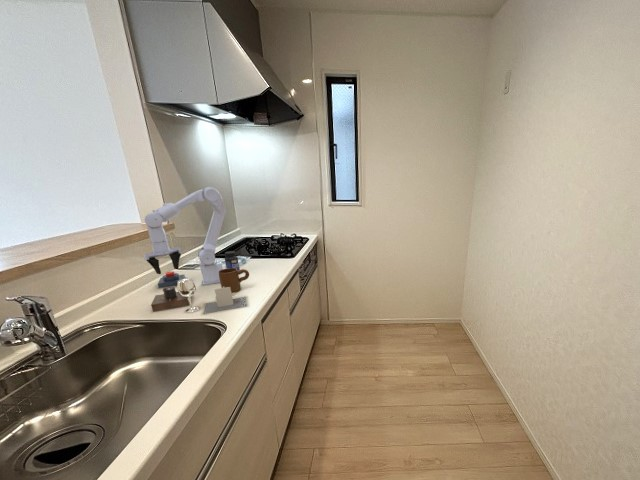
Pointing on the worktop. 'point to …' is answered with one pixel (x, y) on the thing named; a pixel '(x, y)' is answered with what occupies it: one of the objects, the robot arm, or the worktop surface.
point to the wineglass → (187, 291)
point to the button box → (170, 280)
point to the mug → (232, 278)
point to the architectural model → (224, 301)
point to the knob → (169, 292)
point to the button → (170, 274)
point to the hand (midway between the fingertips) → (168, 271)
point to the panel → (169, 302)
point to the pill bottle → (231, 260)
